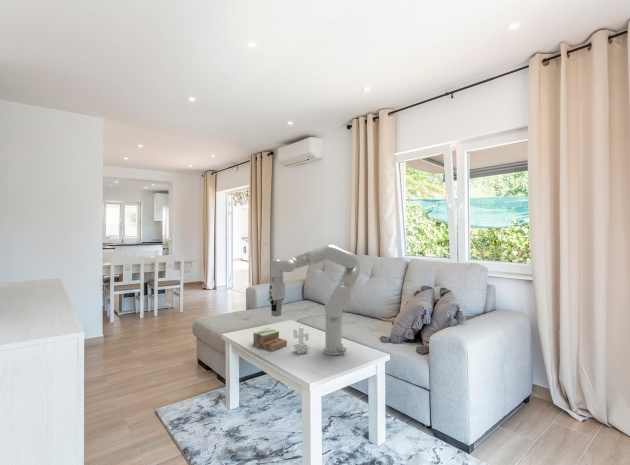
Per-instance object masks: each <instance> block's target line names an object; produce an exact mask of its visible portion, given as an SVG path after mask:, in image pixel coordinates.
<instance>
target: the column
mask: <svg viewBox="0 0 630 465" xmlns="http://www.w3.org/2000/svg"><path fill="white" fill-rule="evenodd" d="M273 302H274V300H273ZM275 305H276V311H271V317H281V316H282V304H281V299H278V300H276V302H275Z"/></svg>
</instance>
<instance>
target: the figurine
mask: <svg viewBox="0 0 630 465" xmlns="http://www.w3.org/2000/svg"><path fill="white" fill-rule="evenodd" d="M297 331H298V332H297ZM292 335H293V338H294V339H298V344H296V343H295V344H293V345H292V347H293V348H294V350H295V352H296V353H297V354H298V355H303V354H307V352H308V350H309V348H310V346H308V345H307V344H306V343H304V337H305V341H306V342H308V341H309V332H308V331H304V326H302V325H299V326H298V330H297V328H293V334H292Z"/></svg>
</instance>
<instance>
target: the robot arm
mask: <svg viewBox="0 0 630 465" xmlns="http://www.w3.org/2000/svg"><path fill="white" fill-rule="evenodd" d="M326 261H330V262H333V263H334V264H337V265H339V266H341V267H344V271H343V273H342V275H341V277H340V279H339V281H338V282H337V283H336V285H335V287H334V290H333V291H332V293H331V296H330V298H329V299H327V300H326V302H325V306H324V313H325V327H324V328H325V333H324V334H325V338H324V339H325V343H324V344H325V346H324V347H323V348H322V353H324V354H325V355H329V356H339V355H343V354H345V353H346V352H347V350H348V349H347V347H344V344H343V343H342V342H343V341H342V340H343V339H342V338H343V337H342V327H343V318H342V316H343V314H342V313H343V311H344V309H345V307H346V305H347V304H348V302H349V300H350V299H351V295H352V289H353V287H354V285H355V284H356V281H357V279H358V278H359V276H360V275H359V274H360V271H361V270H360V268H361V266H360V262H359V259H358V257H357V255H356V253H354V252H352V251H346V250H345V249H342V248H339V247H338V246H336V244H332V243H331V244H329V243H328V244H326V245H322V246H319V247H317V248H314V249H311V250H308V251H306V252H304V253H302V254H299V255H296V256H293V257H290V258H287V259H282V258H273V259H271V260H270V278H269V281H270V282H269V287H268V297H267V301H268V302H269V303H270V305H271V307H270V308H271V309H270V310H271V312H272V311H276V305H275V302H276V300H278V299H281V305H282V304H283V301H284V299H285V298H286V287H285V286H286V285H285V281H284V273H292V272H294V271H295V270H297V269H300V268H303V267H306V266H314V265H317V264H320V263H323V262H326ZM273 300H274V302H273Z"/></svg>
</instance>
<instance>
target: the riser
mask: <svg viewBox="0 0 630 465" xmlns="http://www.w3.org/2000/svg"><path fill="white" fill-rule="evenodd" d="M279 334H280V331H279V330H276V329H272V328H269V327H267V328H264V329H261V330H258V331H254V332H253V346H255V347H258V348H261V349H263V350H267V351H270V352H276V351H278V350H280V349H282V348H285V347H287V346H288V342H287V340H286V339H284V338H280V335H279Z"/></svg>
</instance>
